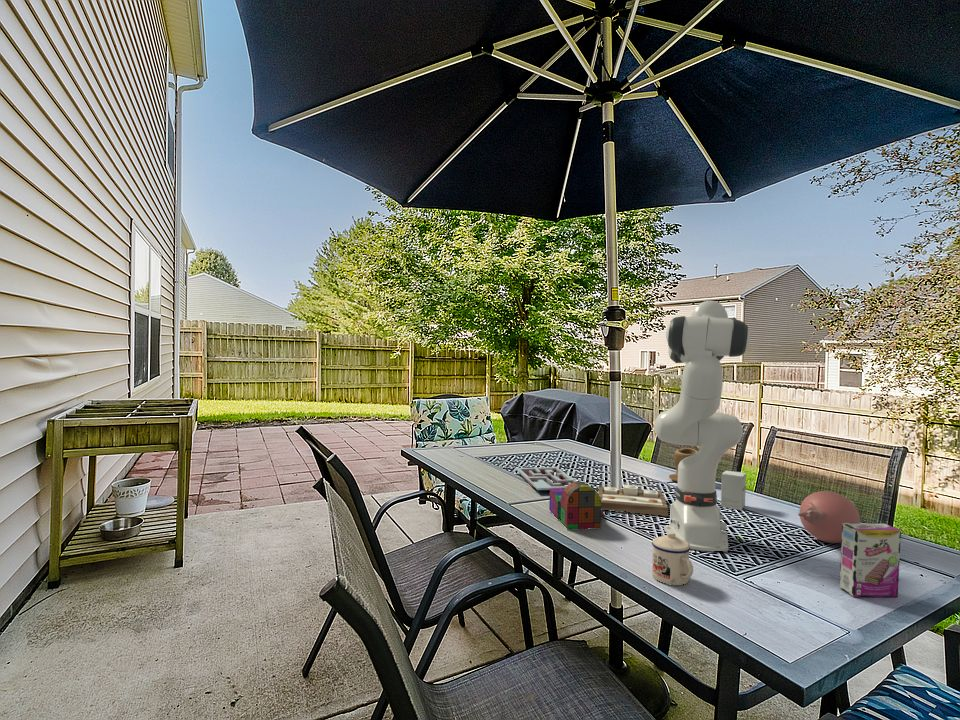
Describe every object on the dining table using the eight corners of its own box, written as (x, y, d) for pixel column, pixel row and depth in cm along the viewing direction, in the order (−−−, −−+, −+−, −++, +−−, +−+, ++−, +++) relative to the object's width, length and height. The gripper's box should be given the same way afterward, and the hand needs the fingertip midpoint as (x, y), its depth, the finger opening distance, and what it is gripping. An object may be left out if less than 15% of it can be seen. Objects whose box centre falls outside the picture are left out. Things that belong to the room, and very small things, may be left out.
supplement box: (742, 510, 185) (742, 476, 184) (720, 506, 189) (720, 473, 189) (745, 505, 191) (746, 472, 190) (724, 502, 195) (725, 469, 195)
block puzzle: (616, 528, 164) (617, 485, 164) (566, 530, 162) (567, 486, 162) (588, 505, 189) (589, 467, 189) (544, 506, 186) (545, 468, 186)
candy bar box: (854, 598, 118) (856, 529, 118) (838, 588, 124) (840, 522, 123) (900, 598, 119) (902, 529, 119) (882, 588, 124) (884, 522, 124)
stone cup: (679, 485, 219) (680, 451, 219) (665, 478, 231) (666, 446, 230) (711, 484, 221) (712, 450, 221) (695, 478, 233) (696, 445, 233)
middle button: (637, 496, 192) (637, 488, 192) (623, 495, 193) (624, 487, 193) (636, 493, 197) (636, 485, 197) (623, 492, 198) (623, 484, 198)
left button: (617, 498, 194) (617, 490, 194) (603, 497, 195) (604, 489, 195) (616, 495, 199) (617, 487, 199) (603, 494, 200) (604, 486, 200)
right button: (658, 502, 190) (658, 493, 190) (644, 501, 191) (644, 492, 191) (656, 498, 195) (657, 490, 195) (643, 497, 196) (643, 489, 196)
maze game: (516, 474, 236) (516, 468, 236) (556, 473, 239) (556, 467, 239) (537, 496, 201) (537, 488, 201) (584, 494, 205) (584, 486, 204)
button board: (667, 516, 177) (668, 506, 177) (598, 510, 182) (598, 500, 182) (661, 499, 198) (661, 490, 198) (598, 493, 204) (599, 485, 204)
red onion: (775, 535, 159) (776, 487, 159) (824, 530, 164) (825, 484, 164) (819, 554, 144) (821, 501, 144) (872, 548, 150) (873, 497, 149)
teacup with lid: (643, 573, 130) (644, 528, 130) (672, 568, 134) (673, 525, 133) (676, 594, 119) (677, 545, 119) (706, 589, 122) (707, 541, 122)
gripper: (721, 372, 178) (720, 411, 178) (709, 370, 198) (708, 405, 198) (702, 372, 180) (701, 410, 180) (692, 370, 199) (691, 405, 200)
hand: (705, 408), depth 189 cm, fingers closed
